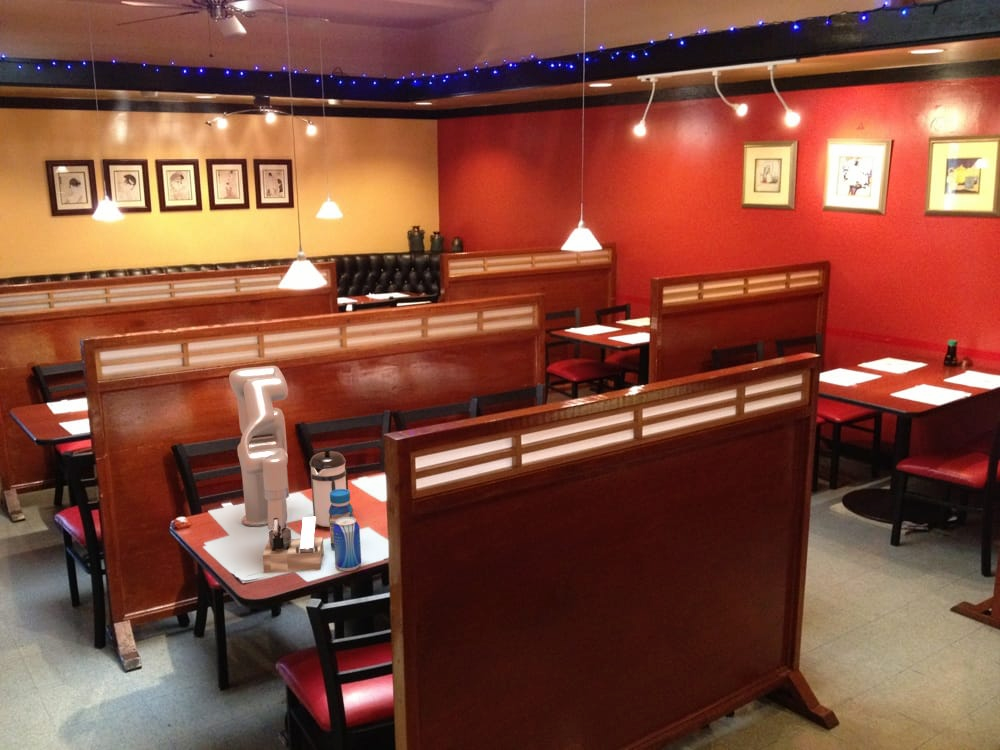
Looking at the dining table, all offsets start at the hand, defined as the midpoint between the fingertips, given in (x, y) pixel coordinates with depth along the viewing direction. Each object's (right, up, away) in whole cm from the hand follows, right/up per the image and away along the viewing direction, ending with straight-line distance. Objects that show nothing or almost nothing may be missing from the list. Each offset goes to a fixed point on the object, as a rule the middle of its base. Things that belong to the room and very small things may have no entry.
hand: (280, 543), depth 277 cm
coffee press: (+10, 0, +34) cm, 35 cm away
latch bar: (+9, +2, +1) cm, 9 cm away
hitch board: (+4, -7, +2) cm, 8 cm away
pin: (0, -5, +1) cm, 5 cm away
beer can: (+23, -7, -1) cm, 24 cm away
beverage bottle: (+18, -4, +14) cm, 23 cm away
